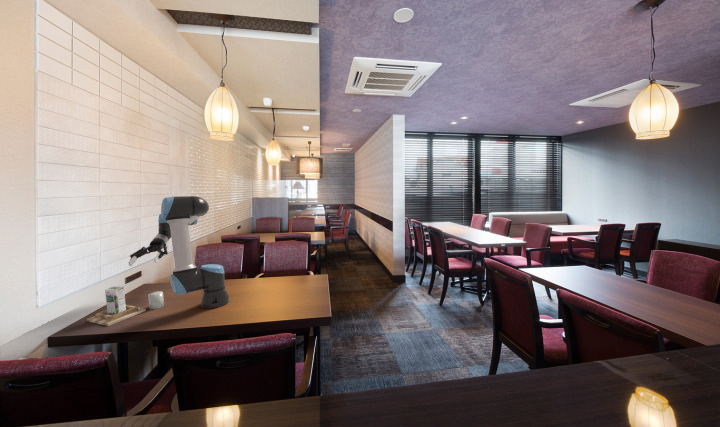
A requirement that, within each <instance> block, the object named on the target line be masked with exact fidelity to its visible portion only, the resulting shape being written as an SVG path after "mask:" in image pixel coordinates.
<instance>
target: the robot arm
mask: <svg viewBox="0 0 720 427" xmlns="http://www.w3.org/2000/svg"><path fill="white" fill-rule="evenodd" d="M209 205H210V204H209V203H208V202H207V200H205V199H204V198H202V197H199V196H195V195H191V196H189V195H188V196H167V197H164V198H163V199H162V201H161V206H160V207H161V208H160V213H159V215H158V232H157V234H156V235H155V237H154V238H153V239H152V240H151V241H150V243H149V246H147V247H146V246H143V247H140V248H139V249H138V250H137V251H134V252H133V253H132V254H130V255H129V258H130V259H129V261H128V262H127V263H128V266H129V267H132V266H134V264H135V263H136V262H137V260H138V259H139V258H141V257H143V256H145V255H149V254H151V253H156V252H158V253H157V254H156V255H155V257H153V260H154V262H155V263H156V264H157V263H158V261H159V260H161V259H162V257H164V256H165V255H168V254H169V252H168V245H167V243H168V242H169V241H170V239H171V244H172V253H173V260H174V268H173V270H172V274H170V275H169V282H170V285H171V288H172V291H173V292H174V294H175V295H178V296H180V295H186V294H189V293H193V292H197V291H202V292H203V293H202V296H201V297H202V298H201V301H200V307H201V308H202V309H214V308H215V309H216V308H220V307H223V306H225V305H227V304H228V303H229V302H230V296H229V294H228V292H227V289H226V281H225V269H224V266H223V265H222V264H218V263H217V264H215V263H211V264H204V265H203V264H202V265H201V267H200V268H198V266H196V265H195V264H194V259H193V253H192V252H193V251H192V245H191V237H190V230H189V226H195V225H198V220H199V218H200V217H203V216H206V214H207V213H208V212H209V209H210V206H209Z"/></svg>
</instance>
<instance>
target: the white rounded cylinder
mask: <svg viewBox="0 0 720 427" xmlns="http://www.w3.org/2000/svg"><path fill="white" fill-rule="evenodd" d="M147 296H148V298H147V299H148V307H149V310H157V309H161V308H163V307H164V306H165V299H164V291H161V290H160V291H158V290H157V291H153V292H150V293H148V295H147Z"/></svg>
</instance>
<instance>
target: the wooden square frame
mask: <svg viewBox="0 0 720 427" xmlns="http://www.w3.org/2000/svg"><path fill="white" fill-rule="evenodd" d="M125 305H126V310H125V311H123V312H120V313H117V314H115V315H108V313H107V309H105V310H103V311H100V312H97V313H95V314H94V316H91V317H89V318H88V317H87V318H86V321H87V322H89V323H93V324H97V325H101V326H102V325H103V326H106V327H110V326H113V325H114V324H117V323H119V322H122V321H124V320H127V319H129V318H132V317H134V316H137V315H139V314H143V313H144V312H146V311H147V310H146V308H142V307H138V306H135V305H129V304H125Z"/></svg>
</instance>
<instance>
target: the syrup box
mask: <svg viewBox="0 0 720 427" xmlns="http://www.w3.org/2000/svg"><path fill="white" fill-rule="evenodd" d="M124 288H125V287H124V285H123V286H121V285H120V286H111V287H108V288H106V289H104V290H105V292H104V293H105V300H106V301H105V302H106V310H107V313H108V315H115V314H117V313H120V312H123V311H125V310H126V305H127V304H126V296H125V289H124Z"/></svg>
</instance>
